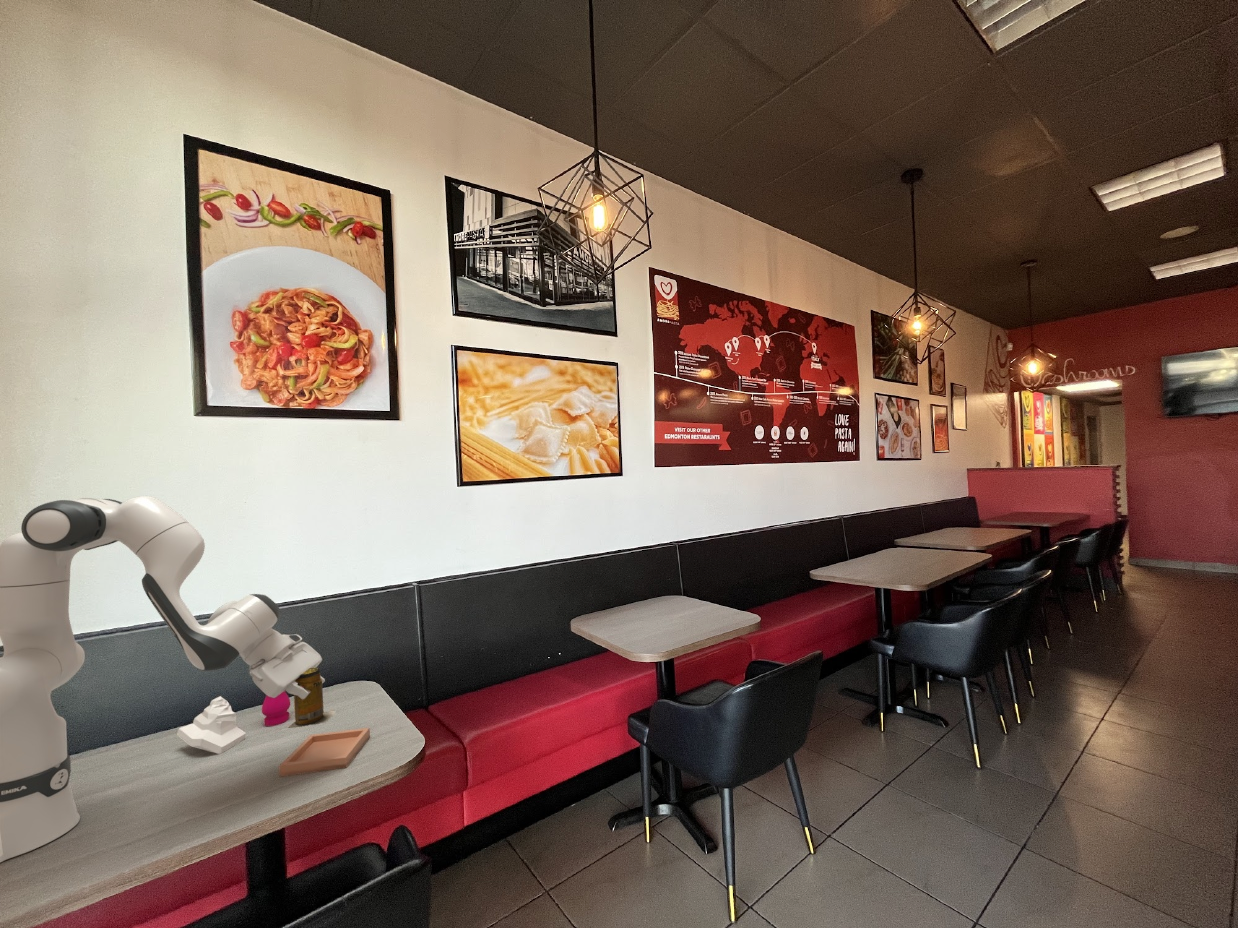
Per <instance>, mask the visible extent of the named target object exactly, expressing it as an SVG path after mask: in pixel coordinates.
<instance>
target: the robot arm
mask: <svg viewBox="0 0 1238 928" xmlns="http://www.w3.org/2000/svg"><path fill="white" fill-rule="evenodd" d="M20 529H21V531H20V532H17V533H14V534H12V535H9V536H8V537H6V538H5V539H4V540H3V541H2V542H1V544H0V640H1V642H2V647H3V655H2V656H0V863H2V862H4V861H6V860H9V859H11V858H15V857H18V856H20V855H23V854H26V853H28V852H31V851H33V850H35V849H38V848H39V847H42V846H44V845H47V844H49V843H51V842H52V841H55V840H56V839H58V838H60V837H61V836H63V835H64V834H66V833H68V832H70V831H71V830H72V829H73V828H74V827H76V826H77V824H78V823H79V822H80V820H81V816H80V814H79V811H78V808H77V804H75V800H74V795H73V791H72V787H71V780H70V778H71V771H72V767H71V766H72V765H71V763H72V760H71V756H70V754H68V740H67V739H68V737H67V721H66V719H65V718H64V717H63V716H60V715H59V714H58V713H57V712H56V709H55V708H54V705H53V703H52V702H53V701H52V699H51V698H52V697H51V695H52V691H54V690H56V689H58V688H59V687H61V686H64V685H65V684H66V683H68V682H69V681H70V680H71V679H72V678H73V677H74V676H75V675H76V674H77V673H78V671H80V669H81V668H82V667H83V665H84V662H85V661H86V660H85V657H86V655H85V654H86V653H85V650H84V649H83V647H82V646H81V645H80V644H79V643H78V642H77V641H76V639H75V636H74V631H73V629H72V625H71V621H70V620H71V619H70V613H69V609H70V608H69V606H70V587H71V586H70V585H71V584H70V583H71V566H72V560H73V559H74V557H75V555H76V554H78V553H79V552H80V551H82V550H84V551H89V550H90V551H91V550H94V549H96V548H100V547H104V546H109V545H112V544H114V543H118V542H120V543H122V544H123V545H124V546H126V547H127V548H128V549H129V550H130V551H131V552H132V553H133V554H134V555H135V556H136V557H138V559H139V560H140V561H141V562H142V565H143V566H144V570H145V574H144V576H142V578H141V585H142V588H143V591H144V592H145V594H146V596H147V598H148V599H149V601H150V603H151V604H152V606H153V607H154V608H155V610H156V612H157V613H158V614H159V616H160V618H161V619H162V620H163V621H164V623H165V624H166V625H167V627H168V628H169V630H170V631H171V633H172V635H174V637H175V638H176V639H177V641H178V643H179V645H180V646H181V649H182V650H183V651H184V654H185V655H186V657H187V659H188V661H189V662H190V664H192V665H193V666H194V667H195V668H197V669H199V671H201V672H212V671H213V672H214V671H219V670H222V669H223V670H224V669H226V668H227V667H229V665H230V664H231V663H232V662H233V661H235V660H236V659H237V658H238V657H239V656H240V657H241V659H242V661H244V662H245V663H246V664H247V665H248V666H249V667H248V675H250V677H252V679H251V680H252V681H253V683H254V684H255V685H256V687H257V688H259V689H260V691H261V692H263V693H264V694H265V696H266V695H267V696H269V697H272V698H275V697H277V696H278V695H279V694H281V693H282V692H284V691H285V692H286V693H288V694H290V695H293V696H294V695H298V696H299V697H300V698H301V699H305V698H306V697H307V696H308V695H309V694H310V690H308V689H307V688H306V687H305V688H302V687H300V686H298V683H296V682H295V680H296V679H298V678H299V676H300V674H302V673H304V672H305V671H307V670H308V669H309V668H318V666H319V665H320V663H322V661H323V658H322V656H321V654H320V653H319V652H317V650H315V649H314V648H313V647H312V646H311V645H309V644H308V643H306V642H305V641H302V640H303V637H302V636H300V634H297V633H295V634H282V633H281V632H279V631H277V630H275V629H273V627H274V625H275V624H276V623H277V622H278V621H279V618H280V607H279V605H278V604H277V603H276V602H275V601H274V600H272V599H271V598H270V597H269V596H267V595H266V594H260V593H252V594H249V595H246V596H245V597H243V598H241V599H240V600H238V601H235V600H232V601H227V602H226V603H224V604H222V605H221V606H220V607H218V608H217V609H216V610H215V611H213V613H212V614H211V616H210V617H209V618H208V620H207V623H206V624H204V625H202V624H200V623H199V622H198V620H197V619H196V618H195V616H194V615H193V613H192V612H191V610H190V609H189V608H188V606H187V605H186V603H185V602H184V600H183V599H182V597H181V595H180V589H181V586H182V585H183V583H184V581H185V580H186V579H187V578H188V576H189V575H190V574H191V573H192V572H193V571H194V569H195V568H196V567H197V565H198V564H199V562H200V561H201V560H202V558H203V555H204V554H205V553H204V551H205V548H206V547H205V546H206V545H205V544H206V543H205V540H204V538H203V536H202V535H201V533H200V532H199V531H198V530H197V529H196V528H195V527H194V526H193V525H192V524H191V523H190V522H188V521H187V520H186V518H184V517H183V516H182V515H181V514H179V513H178V512H177V511H176V510H174V509H173V508H171V507H170V506H168V505H167V504H166V503H164V502H163V501H161V500H159V499H157V498H156V497H153V496H148V495H141V496H136V497H133V498H130V499H127V500H125V501H119V500H116V499H111V498H96V497H95V498H94V497H93V498H92V497H85V498H84V497H82V498H78V499H76V498H75V499H68V500H67V499H59V500H53V501H49V502H46V503H43V504H41V505H37V506H36V507H34V508H32V509H31V510H30V511H28V513H27V514H26V515H25V516H24V518H23V520H22V522H21V528H20ZM320 676H321V674H320ZM320 678H321V679H322V685H323V684H324V683H325V682H326V680H325V678H324V677H323V676H321V677H320Z"/></svg>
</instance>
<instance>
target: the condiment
mask: <svg viewBox="0 0 1238 928" xmlns="http://www.w3.org/2000/svg"><path fill="white" fill-rule="evenodd" d="M320 672H321V670H320V668H318V667H316V668H309V669H308V670H307V671H305V672H304V673H302V674H300V676H299V678H298V679H296V680H295V682H296V683H298V686H300V687H302V688H305V687H306V688H307V689H308V690H310V694H309V695H308V696H307V697H306V698H305V699H301V698H300V697H299V696H298V695H293V698H294V701H293V703H294V719H295V721H294V722H293V723H292V724H290V725H289V726H288V727H287V729H293V728H294V729H295V728H302V727H307V726H313V725H319V724H320V725H321V724H326V723H327V722H329V720H331V718H332V717H333V716H334V715H335V714H336V713H337V711H338V709H337V710H329V711H324V692H323V691H324V690H323V684H322V679H321V678H320V677H322V676H320V675H321V673H320Z"/></svg>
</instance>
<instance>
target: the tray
mask: <svg viewBox="0 0 1238 928" xmlns="http://www.w3.org/2000/svg"><path fill="white" fill-rule="evenodd" d="M370 730H371V729H370V727H366V728H359V729H358V728H356V729H349V730H341V731H340V730H338V731H331V732H325V733H315V734H310V735H309V736H308V737H306V738H305V740H304V741H302V743H301V744H300V745H299V746H298V747H297V748H296V749H294V750H293V752H292V753H290V754H289V756H287V758H285V759H284V760H283V761H282V762H281V763H280V764H279V766H278V772H279V773H278V774H279V777H285V776H292V775H301V774H310V773H317V772H324V771H332V770H333V771H334V770H342V769H346V768H348V766H349V765H350V763H352V761H353V760H354V759H355V758H356V756H357V754H358V753H359V752H360V751H361V750H362V749H363V747H364V746H365V744H366V743H367V741H368V740H369V739H370V737H371V734H370V733H371V732H370Z"/></svg>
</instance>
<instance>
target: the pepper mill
mask: <svg viewBox="0 0 1238 928" xmlns="http://www.w3.org/2000/svg"><path fill="white" fill-rule="evenodd" d="M290 706H291V700H290V697H289V696H288V694H287V691H286V690H285V691H284V692H282V693H281V694H279V695H278V696H277V697H275V698H272V697H269V696H267V695H266V694H265V698H264V701H263V703H262V706H261V713H262V715H263V716H264V719H263V722H264V723H263V724H264V726H266V727H274V726H278V725H281V724H283V723H286V722H287V721H288V720H289V719H290V713H289V711H288V710H289V709H290V708H291V707H290Z"/></svg>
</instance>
